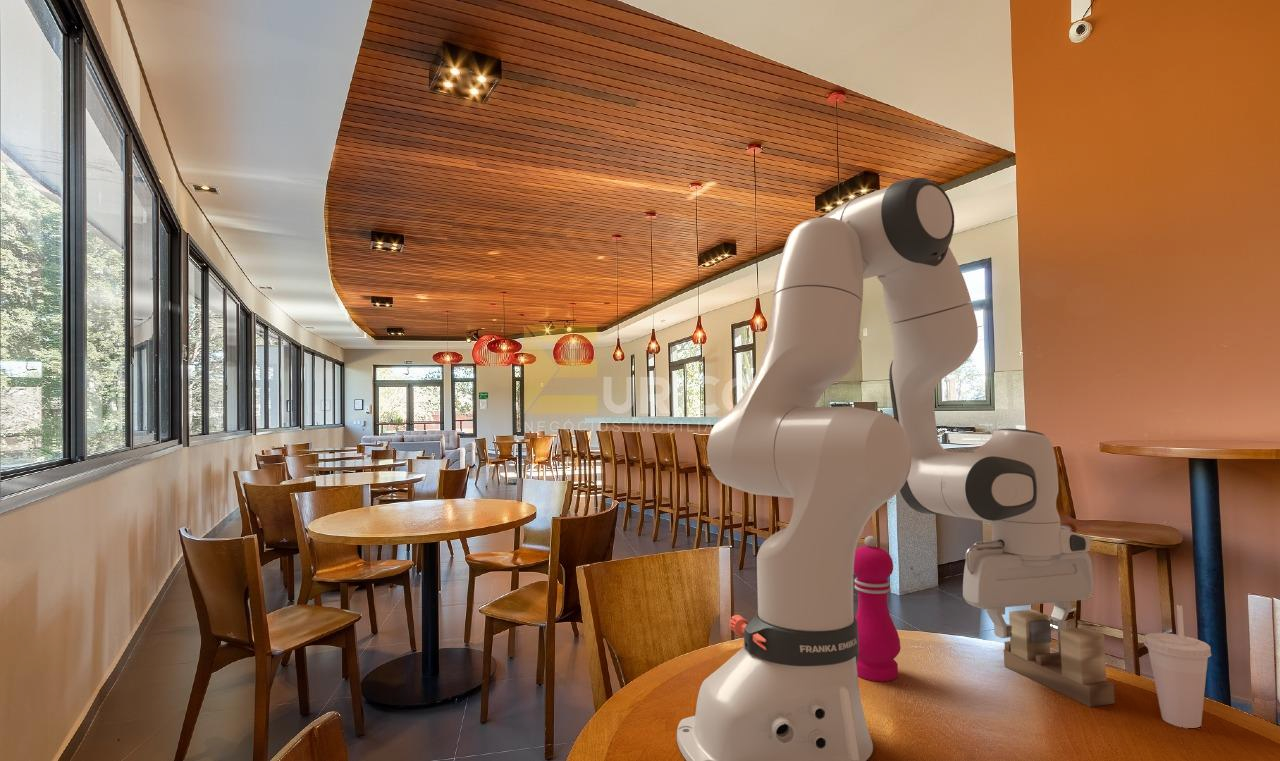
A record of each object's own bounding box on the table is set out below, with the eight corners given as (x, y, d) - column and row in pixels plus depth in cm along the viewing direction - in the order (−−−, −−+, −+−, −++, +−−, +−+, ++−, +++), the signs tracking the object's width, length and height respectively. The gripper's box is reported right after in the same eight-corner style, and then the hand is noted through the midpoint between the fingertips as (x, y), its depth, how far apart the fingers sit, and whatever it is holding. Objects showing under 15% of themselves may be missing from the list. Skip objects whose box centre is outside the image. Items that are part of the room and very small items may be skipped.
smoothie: (1229, 736, 75) (1222, 614, 76) (1167, 731, 76) (1160, 611, 77) (1194, 711, 81) (1187, 599, 82) (1136, 707, 82) (1130, 597, 83)
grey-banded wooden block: (1032, 662, 91) (1030, 619, 92) (1010, 652, 95) (1008, 611, 95) (1055, 659, 92) (1052, 617, 93) (1033, 650, 96) (1031, 609, 96)
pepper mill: (893, 687, 89) (888, 542, 90) (842, 675, 94) (838, 537, 95) (907, 670, 95) (902, 534, 96) (858, 660, 99) (854, 530, 101)
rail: (1090, 707, 83) (1086, 639, 83) (1004, 666, 96) (1001, 608, 97) (1114, 703, 84) (1111, 636, 84) (1026, 663, 97) (1023, 606, 98)
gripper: (982, 546, 89) (986, 648, 89) (1099, 538, 94) (1104, 634, 93) (950, 538, 95) (954, 633, 95) (1062, 531, 100) (1066, 621, 100)
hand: (1030, 633), depth 94 cm, fingers open, 8 cm apart
